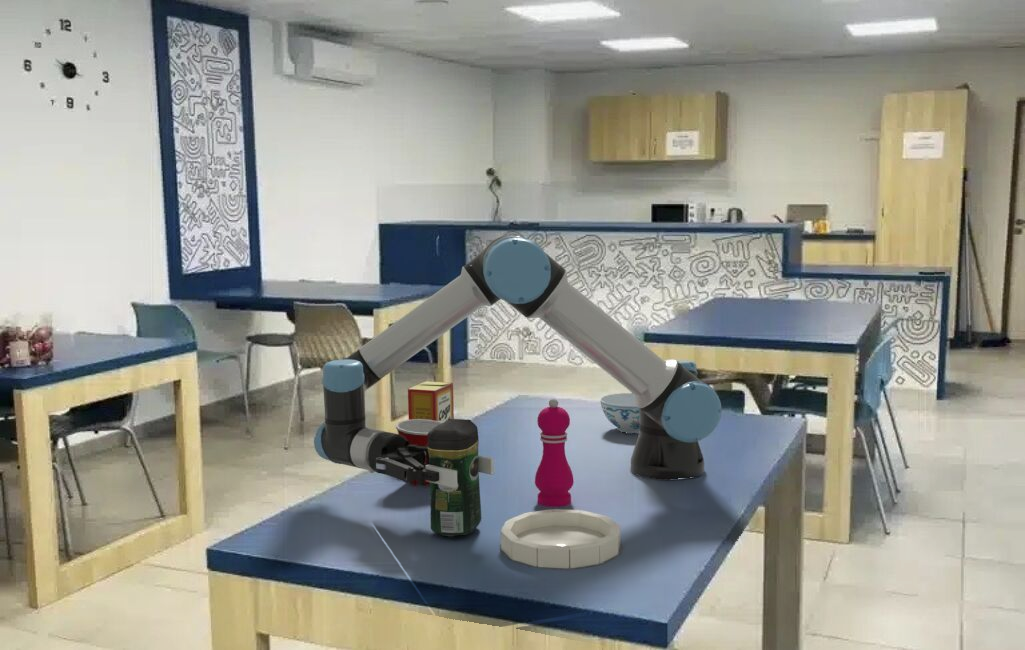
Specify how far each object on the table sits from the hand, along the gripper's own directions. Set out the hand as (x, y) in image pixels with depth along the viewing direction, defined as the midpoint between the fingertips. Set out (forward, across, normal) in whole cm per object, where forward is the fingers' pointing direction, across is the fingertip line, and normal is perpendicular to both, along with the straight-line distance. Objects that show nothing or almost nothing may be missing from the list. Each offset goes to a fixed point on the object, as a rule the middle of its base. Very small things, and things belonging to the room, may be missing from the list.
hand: (474, 472), depth 163 cm
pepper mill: (-1, -24, -12) cm, 26 cm away
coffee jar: (-5, 0, -11) cm, 12 cm away
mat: (+14, -6, -12) cm, 19 cm away
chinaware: (-21, -80, -12) cm, 83 cm away
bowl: (+14, -6, -11) cm, 19 cm away
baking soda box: (-44, -35, -12) cm, 58 cm away
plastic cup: (-31, -19, -12) cm, 38 cm away
